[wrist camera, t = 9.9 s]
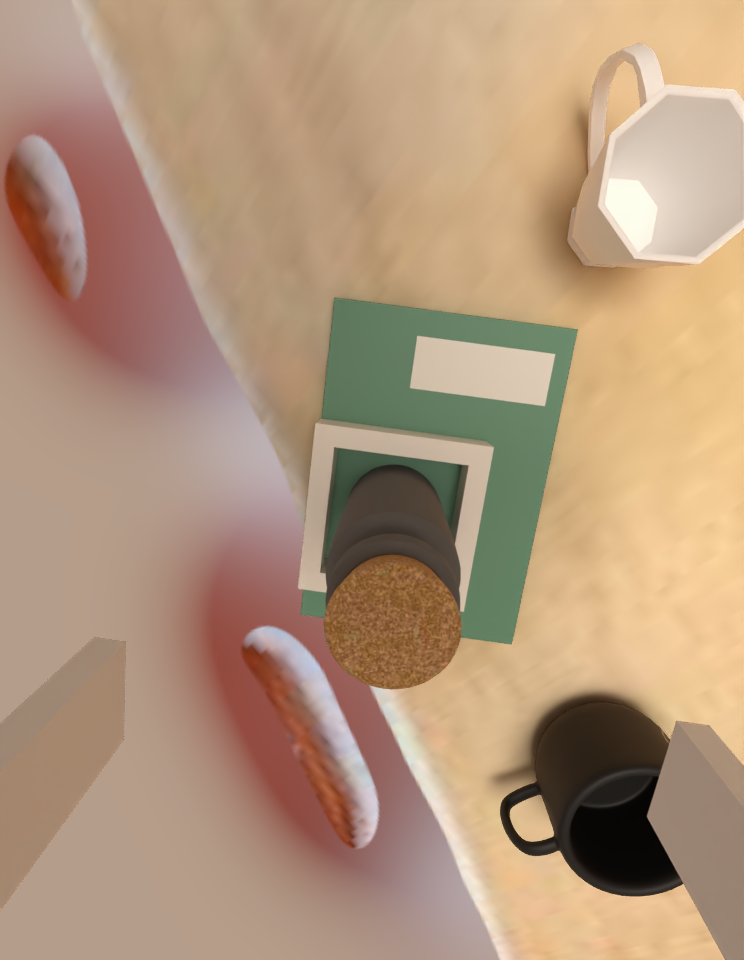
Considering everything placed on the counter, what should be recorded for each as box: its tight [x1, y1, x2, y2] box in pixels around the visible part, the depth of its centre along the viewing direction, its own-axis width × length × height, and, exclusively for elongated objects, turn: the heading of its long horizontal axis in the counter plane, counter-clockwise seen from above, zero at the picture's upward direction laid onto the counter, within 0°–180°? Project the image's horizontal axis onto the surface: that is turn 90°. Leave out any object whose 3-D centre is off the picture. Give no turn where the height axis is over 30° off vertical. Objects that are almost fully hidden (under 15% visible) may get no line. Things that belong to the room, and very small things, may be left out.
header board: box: [298, 298, 578, 644], centre depth 31 cm, size 20×14×3 cm
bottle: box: [324, 465, 462, 689], centre depth 25 cm, size 6×6×15 cm
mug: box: [500, 702, 683, 896], centre depth 33 cm, size 12×9×7 cm
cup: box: [567, 43, 744, 268], centre depth 25 cm, size 7×10×8 cm
